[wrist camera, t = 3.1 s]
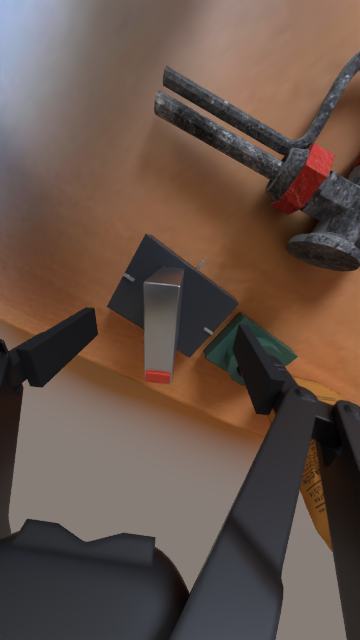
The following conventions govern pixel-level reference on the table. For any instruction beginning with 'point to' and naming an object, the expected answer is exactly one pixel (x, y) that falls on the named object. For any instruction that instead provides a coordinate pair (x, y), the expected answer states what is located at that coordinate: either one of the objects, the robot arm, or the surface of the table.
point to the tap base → (197, 296)
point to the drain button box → (223, 343)
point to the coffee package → (315, 466)
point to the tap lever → (162, 323)
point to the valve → (283, 167)
